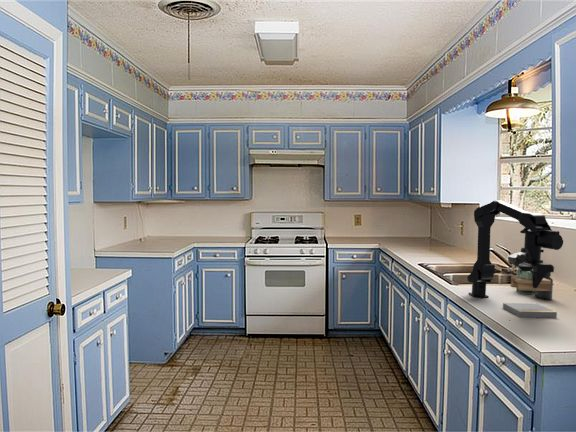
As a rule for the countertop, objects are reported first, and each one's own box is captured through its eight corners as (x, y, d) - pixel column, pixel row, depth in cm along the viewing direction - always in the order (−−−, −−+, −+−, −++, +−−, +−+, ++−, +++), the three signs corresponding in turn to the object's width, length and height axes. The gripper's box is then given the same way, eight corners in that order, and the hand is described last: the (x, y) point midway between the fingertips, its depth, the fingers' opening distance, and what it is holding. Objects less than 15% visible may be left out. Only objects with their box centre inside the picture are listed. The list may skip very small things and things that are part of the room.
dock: (502, 307, 171) (503, 302, 171) (537, 308, 171) (537, 303, 171) (519, 316, 159) (519, 311, 159) (556, 317, 160) (556, 312, 159)
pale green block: (521, 277, 166) (521, 271, 166) (533, 277, 167) (534, 271, 166) (527, 279, 162) (527, 273, 162) (540, 279, 163) (540, 273, 162)
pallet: (510, 286, 168) (511, 276, 167) (540, 287, 168) (541, 277, 168) (519, 290, 162) (519, 279, 161) (550, 290, 162) (550, 280, 162)
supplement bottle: (545, 296, 192) (547, 269, 191) (555, 300, 185) (557, 273, 185) (530, 295, 192) (532, 269, 191) (540, 299, 185) (541, 272, 184)
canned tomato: (521, 289, 204) (522, 266, 203) (538, 293, 198) (539, 269, 197) (512, 291, 199) (514, 268, 199) (530, 295, 193) (531, 271, 192)
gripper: (499, 242, 173) (497, 280, 174) (525, 249, 154) (523, 291, 155) (526, 243, 173) (524, 280, 174) (556, 249, 154) (553, 292, 155)
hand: (530, 286), depth 165 cm, fingers closed on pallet, 6 cm apart
